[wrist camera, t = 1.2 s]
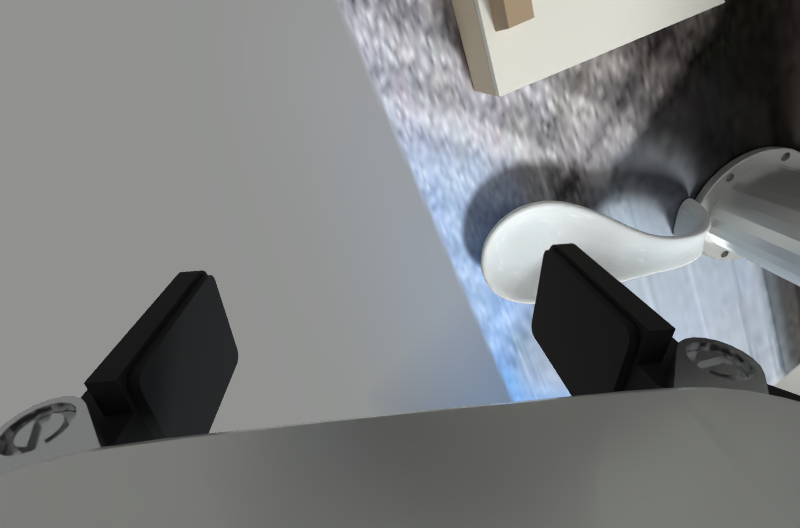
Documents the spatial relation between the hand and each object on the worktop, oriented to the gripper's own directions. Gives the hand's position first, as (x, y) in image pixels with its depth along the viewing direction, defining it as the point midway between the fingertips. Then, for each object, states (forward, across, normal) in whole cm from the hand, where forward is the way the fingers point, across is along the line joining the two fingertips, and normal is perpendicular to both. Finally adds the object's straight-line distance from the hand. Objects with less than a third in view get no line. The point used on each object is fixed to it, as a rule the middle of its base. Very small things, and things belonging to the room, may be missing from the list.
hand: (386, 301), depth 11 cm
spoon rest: (+27, -22, +11) cm, 37 cm away
